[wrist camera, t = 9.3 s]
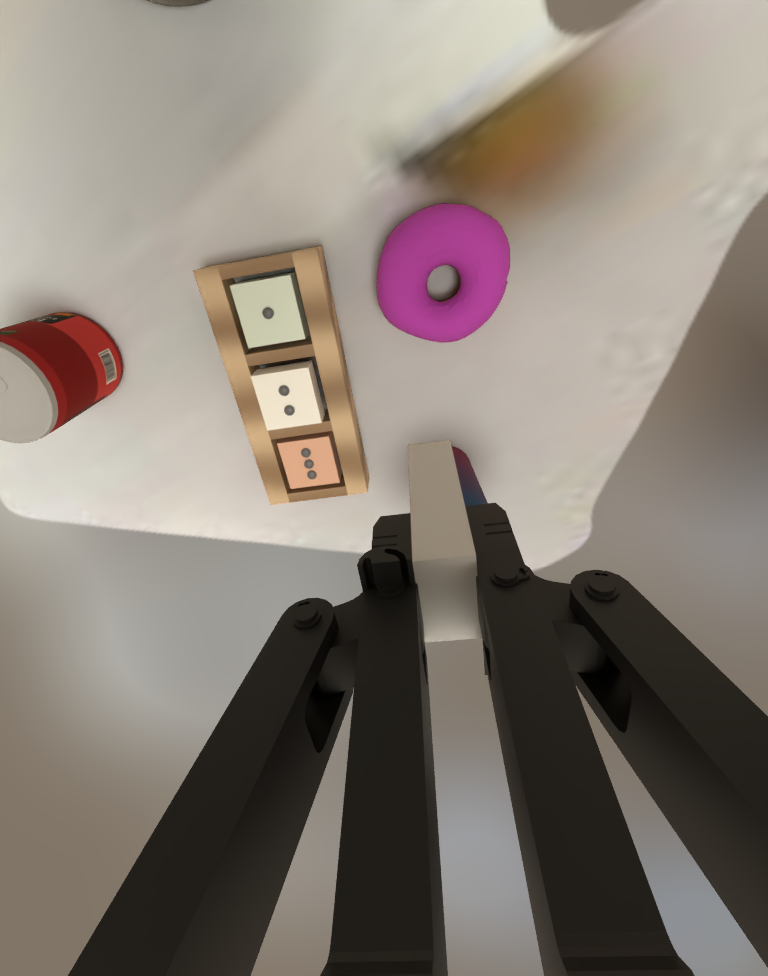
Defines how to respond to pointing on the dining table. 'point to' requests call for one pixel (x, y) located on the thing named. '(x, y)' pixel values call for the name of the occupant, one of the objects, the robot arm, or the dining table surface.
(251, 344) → the button
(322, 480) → the button
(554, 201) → the dining table surface
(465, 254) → the donut
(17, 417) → the canned food
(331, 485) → the panel
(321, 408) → the button
